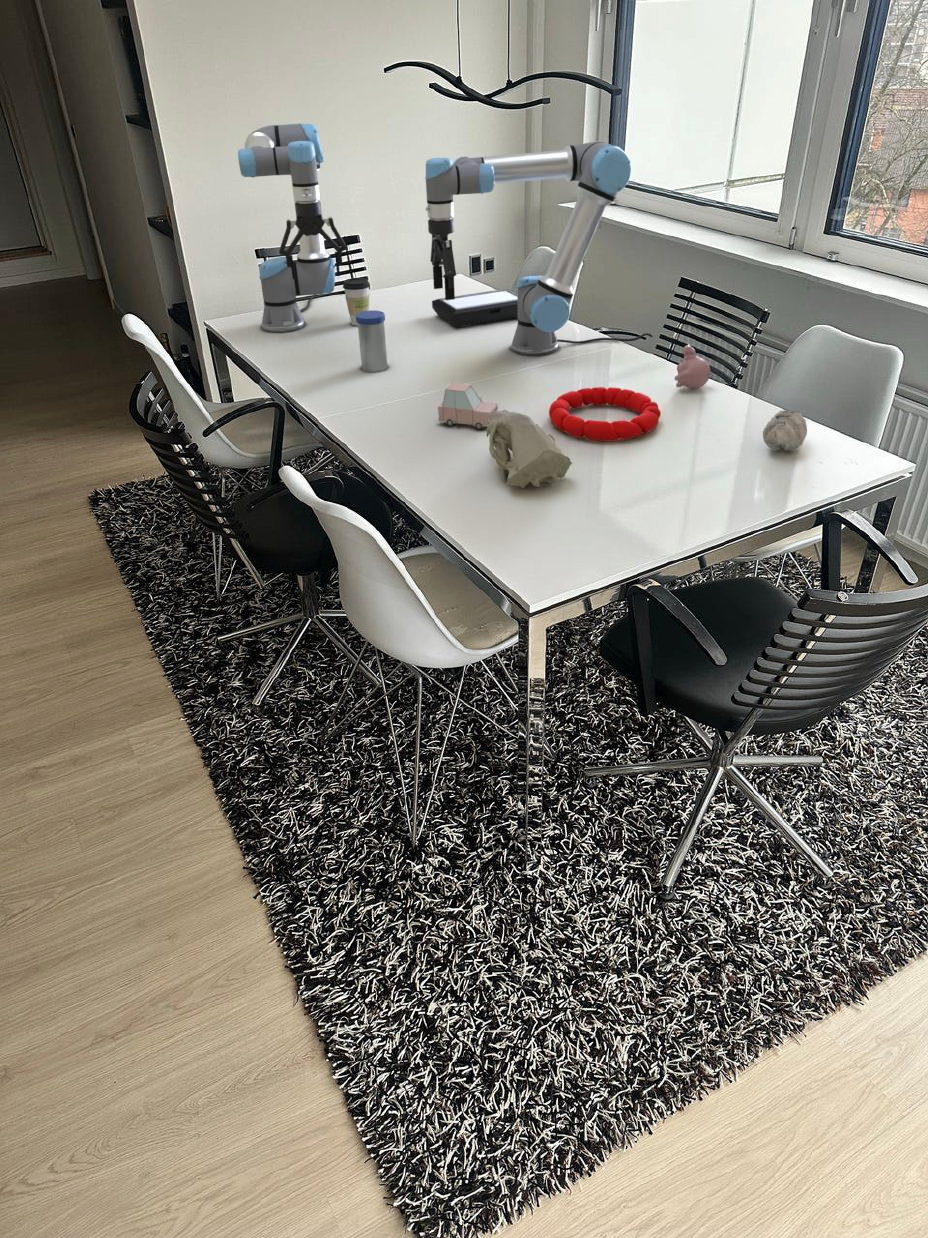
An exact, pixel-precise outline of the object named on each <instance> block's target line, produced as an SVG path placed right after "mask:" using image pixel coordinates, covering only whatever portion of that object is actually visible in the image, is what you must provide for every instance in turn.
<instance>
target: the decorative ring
mask: <svg viewBox="0 0 928 1238" xmlns="http://www.w3.org/2000/svg"><path fill="white" fill-rule="evenodd" d="M583 405H584V406H586V407H587V406H591V405H593V406H604V405H608V406H614V407H619V408H624V409H628V410H632V411H635V412H636V413H638V414H639V415H637V416H635V417H632V418H631V419H630V420H625V419H624V420H623V419H622V420H614V421H611V422H609V421H607V420H606V421H605V420H593V419H587V420H586V421H585V419H584V418H582V417H579V416H577V415H573V414H571V413H570V410H571V409H579V408H581V407H582V406H583ZM548 416H549V419H550V422H551V423H552V425H553V426H554V427H555V428H556V429H558V430H559V431H561V432H563V433H567V434H568V435H569V436H573V437H576V438H580V439H582V438H583V437H585V438H586V439H587V440H591V441H601V442H602V441H603V442H608V441H609V442H610V441H611V442H612V441H615V442H616V441H618V440H630V439H634V438H638V437H641V436H642V434H647V433H650V432H651V431H653V430H654V429H655V428H656V427H657V426H658V424H659V422H660V421H659V420H660V417H661V410H660V408H659V405H658V403H657V402H656V401H652V399H651V397H649V396H648V395H646V394H644V393H642V392H635V391H634V390H632V389H628V388H624V389H622V388H620V387H613V386H612V387H611V386H610V387H608V388H606V387H604V386H594V387H585V388H584V387H583V388H580V389H578V390H571V391H568V392H565V393H563V394H561V395H560V396H558V397H557V398H556V400H554V401H552V403H551V404H550V407H549V409H548Z"/></svg>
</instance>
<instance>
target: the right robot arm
mask: <svg viewBox="0 0 928 1238" xmlns="http://www.w3.org/2000/svg"><path fill="white" fill-rule="evenodd" d="M631 176H632V164H631V159H630V158H629V155H628V154H627V152H625V150H623V149H622V148H621V147H619V146H618V145H613V144H610V143H608V142H605V141H598V140H597V141H591V142H590V141H589V142H585V143H578V144H571V145H566V146H565V148H564V149H557V150H547V151H546V150H545V151H534V152H525V153H512V154H511V153H510V154H500V155H490V156H480V157H479V156H478V157H468V156H461V157H458V158H456V159H455V160H454V161H452V158H450V157H431V158H429V159H427V160H426V162H425V177H424V179H425V189H426V190H425V192H426V205H427V206H426V207H425V211H426V212H427V218H429V219H427V228H428V229H427V230H428V233H429V234H430V235H431V247H430V259H429V261H430V263H431V265H432V280H433V281H432V282H433V289H434V290H439V289H444V298H445V300H453V299H455V296H456V295H455V294H456V293H455V277H456V276H457V272H456V265H455V258H454V251H453V241H452V239H449V235H452V234H453V233H454V232H455V220H454V218H453V217H454V216H455V210H454V208H455V207H454V196H458V195H473V194H475V195H476V194H477V195H478V194H480V195H483V194H487V193H492V192H493V191H494V189H495V185H498V184H510V183H523V182H532V181H533V182H534V181H535V182H536V181H545V180H558V179H564V180H566V182H578V184H577V186H576V188H577V191H578V197H577V199H576V202H575V204H574V207H573V209H572V211H571V213H570V215H569V219H568V221H567V223H566V225H565V229H564V231H563V233H562V236H561V238H560V240H559V243H558V245H557V247H556V250H555V253H554V255H553V257H552V259H551V262H550V265H549V266H548V269H547V271H546V274H544V275H529V276H523V277H520V278H519V279H518V281H517V287H516V290H517V294H518V318H517V325H516V329H515V332H514V335H513V338H512V342H511V350H513V352H515V353H517V354H519V355H526V356H543V355H548V354H551V353H552V354H553V353H554V352H557V350H558V349H559V348H558V347H559V343H566V344H567V343H568V344H575V345H576V344H578V345H579V344H586V343H587V344H588V343H593V342H598V341H617V342H634V341H638V340H640V339H641V338H643V337H645V336H649V337H650V338H653V337H654V335H652V334H651V333H650V332H644V333H642V334H640V335H639V336H637V337H634V338H617V337H598V338H597V337H596V338H590V339H585V340H577V341H576V340H569V339H568V340H567V339H558V338H557V334H556V331H558V330H560V329H562V328H563V327H564V326H565V325H566V324H567V322H568V320H569V318H570V311H571V310H570V304H571V301H572V299H573V296H574V294H575V293H574V289H573V284H574V281H575V279H576V276H577V274H578V272H579V270H580V267H581V265H582V263H583V260H584V259H585V256H586V253H587V252H588V249H589V247H590V244H591V243H592V240H593V238H594V235H595V233H596V230H597V228H598V226H599V223H600V222H601V219H602V216H603V214H604V212H605V210H606V208H607V207H608V206H611V205H612V204H614V202H615V200H616V197H617V195H618V193H619V192H621V191H622V190H623V189H624V188H625V187H626V186H627V185H628V183H629V181H630V179H631ZM443 271H444V274H443ZM443 281H444V282H443Z"/></svg>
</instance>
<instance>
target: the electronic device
mask: <svg viewBox="0 0 928 1238" xmlns="http://www.w3.org/2000/svg"><path fill="white" fill-rule="evenodd" d="M431 307H432V309H433V311H434V312H435V314H436V315H437V317H439V318H441V319H442V320H444V321H445V322H447V323H449V324H450V325H452V326H454V327H455V328H456V329H457V328H461V327H467V326H473V325H480V324H486V323H487V324H488V323H492V322H499V321H500V322H501V321H506V320H511V319H518V292H516V291H514V290H511V289H509V288H503V289H494V290H489V291H481V292H476V293H469V294H468V293H467V294H462V295H455V299H453V300H445V297H442V298H437V299H433V300H431Z"/></svg>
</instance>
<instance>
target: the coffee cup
mask: <svg viewBox="0 0 928 1238" xmlns="http://www.w3.org/2000/svg"><path fill="white" fill-rule="evenodd" d="M370 287H371V283H370V282H369V279H367V278H365V277H351V278H347V279H345V280H344V281H343V285H342V288H343V290H344V297H345V301H346V305H347V310H348V314H349V318H350V323H351V325H353V326H357V327H358V323H357V322H356V314H357V313H359V312H363V311H370Z"/></svg>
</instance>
